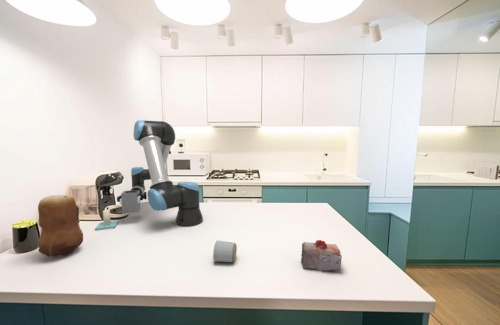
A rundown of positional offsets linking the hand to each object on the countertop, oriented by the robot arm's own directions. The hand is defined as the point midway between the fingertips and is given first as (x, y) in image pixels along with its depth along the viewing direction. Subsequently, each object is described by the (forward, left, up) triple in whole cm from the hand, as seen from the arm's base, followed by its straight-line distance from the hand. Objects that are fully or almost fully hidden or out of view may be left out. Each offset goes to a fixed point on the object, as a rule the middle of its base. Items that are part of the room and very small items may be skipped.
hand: (129, 201), depth 119 cm
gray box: (0, -5, -7) cm, 8 cm away
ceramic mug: (-42, +51, -14) cm, 67 cm away
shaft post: (+12, -2, -13) cm, 18 cm away
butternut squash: (+21, +26, -14) cm, 36 cm away
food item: (-74, +68, -14) cm, 102 cm away
